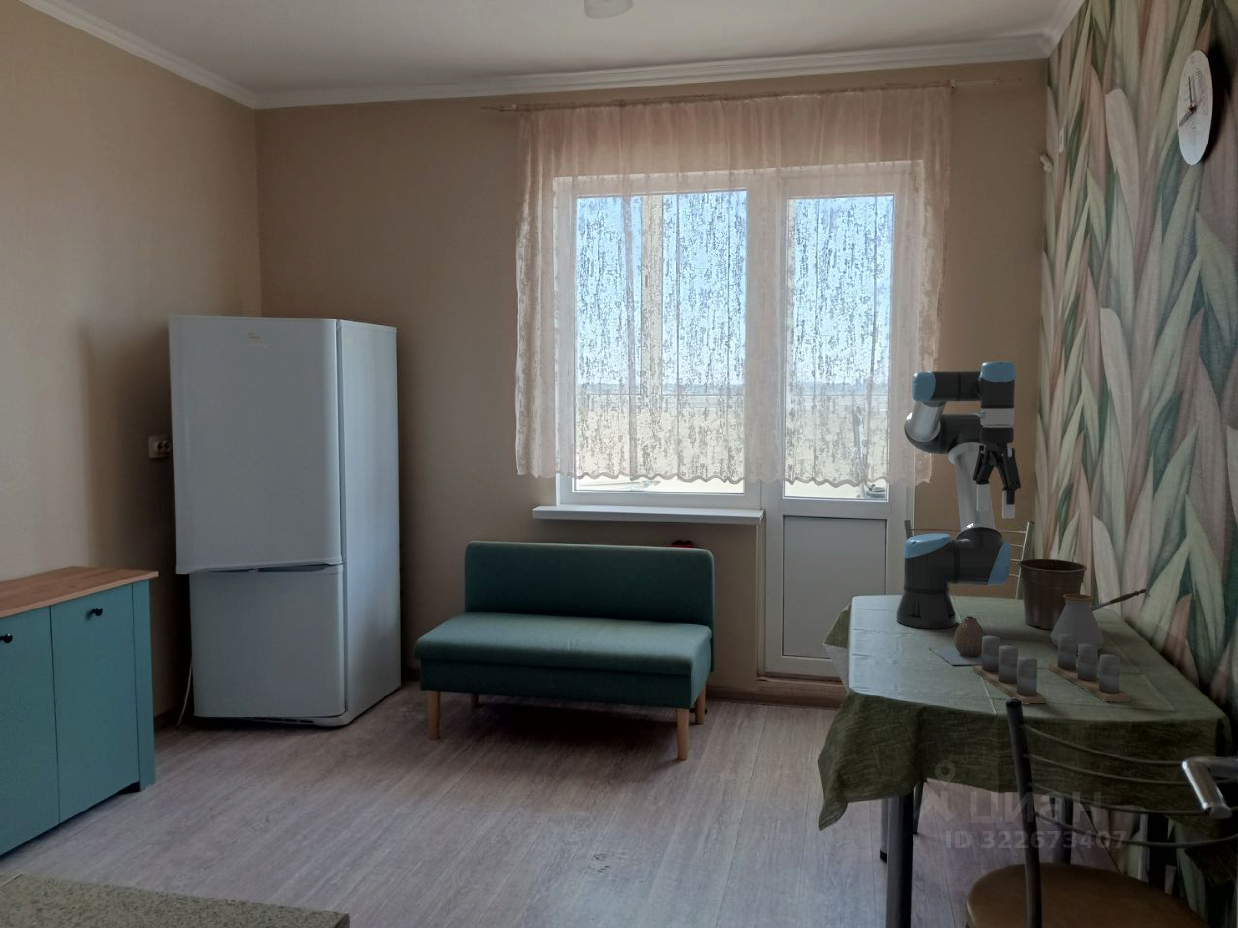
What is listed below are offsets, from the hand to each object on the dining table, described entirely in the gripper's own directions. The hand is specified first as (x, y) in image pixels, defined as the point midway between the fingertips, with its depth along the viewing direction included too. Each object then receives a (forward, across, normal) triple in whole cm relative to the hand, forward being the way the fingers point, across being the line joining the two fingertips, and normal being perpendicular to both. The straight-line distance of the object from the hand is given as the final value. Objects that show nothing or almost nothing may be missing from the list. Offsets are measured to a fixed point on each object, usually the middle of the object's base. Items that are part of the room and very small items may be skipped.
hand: (995, 514), depth 224 cm
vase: (+31, +10, -10) cm, 35 cm away
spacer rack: (+32, +32, -3) cm, 45 cm away
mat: (+32, +10, -10) cm, 35 cm away
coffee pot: (+32, +8, +22) cm, 40 cm away
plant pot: (+32, -16, +23) cm, 42 cm away
